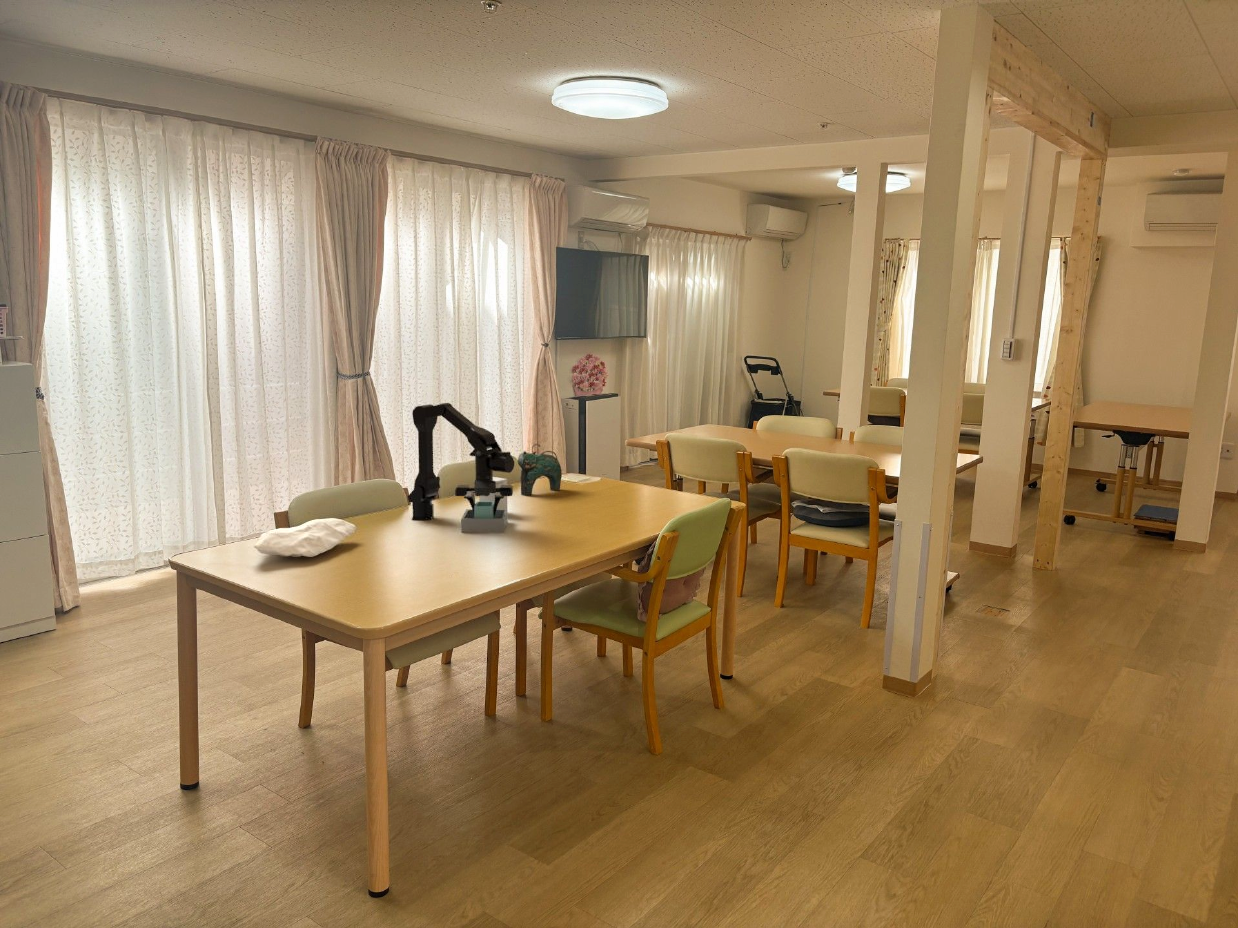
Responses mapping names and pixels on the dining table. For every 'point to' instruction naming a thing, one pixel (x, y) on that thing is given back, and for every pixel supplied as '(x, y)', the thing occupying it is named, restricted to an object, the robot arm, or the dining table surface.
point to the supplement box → (491, 497)
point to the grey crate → (484, 522)
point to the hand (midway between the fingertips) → (484, 515)
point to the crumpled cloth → (305, 538)
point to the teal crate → (484, 509)
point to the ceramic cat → (539, 470)
